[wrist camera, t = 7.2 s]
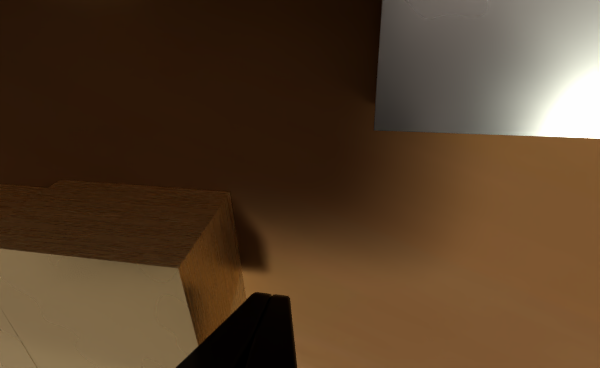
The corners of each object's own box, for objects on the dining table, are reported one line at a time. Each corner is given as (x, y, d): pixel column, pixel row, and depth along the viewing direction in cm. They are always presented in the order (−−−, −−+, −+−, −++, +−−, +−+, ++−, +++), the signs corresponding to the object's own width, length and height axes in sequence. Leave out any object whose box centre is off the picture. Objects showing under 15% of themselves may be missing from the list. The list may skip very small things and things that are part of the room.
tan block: (233, 186, 9) (177, 268, 6) (252, 318, 11) (216, 416, 9) (66, 175, 9) (-39, 244, 7) (116, 300, 12) (48, 384, 9)
